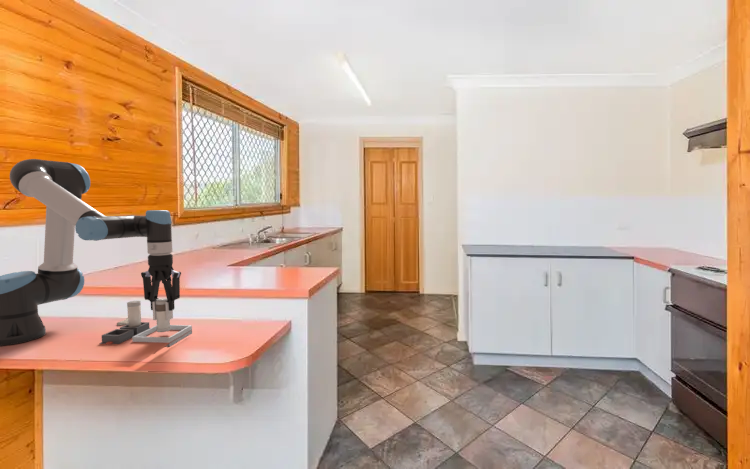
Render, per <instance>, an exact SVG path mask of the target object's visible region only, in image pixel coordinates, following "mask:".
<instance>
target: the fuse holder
mask: <svg viewBox="0 0 750 469" xmlns="http://www.w3.org/2000/svg"><path fill="white" fill-rule="evenodd" d="M150 328H151V327H150V321H149V322H148V321H147V322H146V321H141V325H140V326H138V327H128V324H126V325H121V326H120V327H119V328H116V329H113V330H111V331H108V332H106V333H104V334H102V335H101V342H99V345H100V344H106V345H120V344H122V343H124V342H126V341H129V340H130V339H131V340H132V337H133V336H135V335H137V334H139V333H142V332H144V331H146V330H148V329H150Z"/></svg>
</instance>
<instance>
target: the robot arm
mask: <svg viewBox="0 0 750 469" xmlns="http://www.w3.org/2000/svg"><path fill="white" fill-rule="evenodd" d="M9 180H10V184H11V185H12V186H13V188H14V189H16V190H17V191H18V192H19V193H21V194H22V195H23V196H26V197H30V198H34V199H35V200H37V201H38V202H40V203H42V204H43V205H45V206H46V208H45V227H44V229H45V230H44V245H43V246H44V247H43V248H44V249H43V250H44V251H43V262H42V263H41V264H39V265H38V267H37V273H36V271H32V270H24V271H22V270H21V271H18V272H10V273H7V274H5V273H4V274H1V275H0V346H1V347H2V346H10V345H17V344H22V343H26V342H30V341H33V340H36V339H39V338H41V337H43V336H45V335H46V334H47V330H46V329H47V328H46V326H45V325H44V323H43V320H42V319H41V316H40V315H39V307H38V306H39V305H43V304H47V303H48V304H49V303H52V302H57V301H65V300H68V299H70V298H73V297H76V296H78V295H79V294H80V293H81V292H82V290H83V289H84V285H85V276H84V274H83V272H82V271H81V270H80V269H79V268H78V265H77V264H76V263H74V246H75V233H76V234H77V236H78V237H79V239H81V240H83V241H103V240H104V241H105V240H114V239H126V238H146V246H147V254H148V256H147V265H148V266H149V267H148V270H146V271H143V272H140V275H141V276H140V277H141V278H142V283H143V297H144V300H145V301H149V302H150V311H152V320H153V321H157V318H156V300H158V299H160V298H158V295H159V291H160V290H159V289H160V284H163V288H164V291H165V292H164V293H165V296H166V299H167V301H166V302H165V306H166V320H172V319H173V318H174V312H173V311H174V310H175V301H176V300H179V299H180V297H181V296H180V295H181V294H180V291H181V290H180V289H181V286H180V285H181V284H180V283H181V282H180V281H181V280H180V278H181V275H182V272H181V271H177V270H174V267H173V262H174V258H173V257H174V256H173V254H172V253H173V240H172V239H173V238H172V236H173V235H172V219H171V218H172V217H171V212H170V211H169V210H168V209H167V210H166V209H165V210H163V209H162V210H161V209H160V210H155V209H154V210H153V209H151V210H146V211H145V215H134V214H133V215H132V214H131V215H118V216H117V215H113V216H112V215H107V216H106V215H104V214H103V213H101V212H99V211H98V210H96V209H95V208H93V207H92V206H91V205H89V204H88V203H86V202H85V201H83V200H82V199H83V198H82V195H83V194H86V193H87V192H88V191H89V190H90V187H91V178H90V175H89V172H87V171H86V169H85V167H83V166H81V165H80V164H77V163H71V162H68V161H57V160H56V161H55V160H47V159H38V158H29V159H24V160H20V161H18V162H17V163H16V164H14V165H13V167H12V168H11V170H10V172H9Z"/></svg>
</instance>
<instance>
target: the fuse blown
mask: <svg viewBox="0 0 750 469" xmlns="http://www.w3.org/2000/svg"><path fill="white" fill-rule="evenodd" d="M166 301H167V298H159V299H157V300H156V318H157V320H156V325H157V331H156V332H157V333H166V332H169V331H171V330H170V325H171V322H170V320H171V319H170V320H166V306H165V302H166Z"/></svg>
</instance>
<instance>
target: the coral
mask: <svg viewBox="0 0 750 469" xmlns="http://www.w3.org/2000/svg"><path fill="white" fill-rule="evenodd" d="M127 324H128V317H126V318H125V319H124V320H120V321H118V322H116V326H125V325H127Z"/></svg>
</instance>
